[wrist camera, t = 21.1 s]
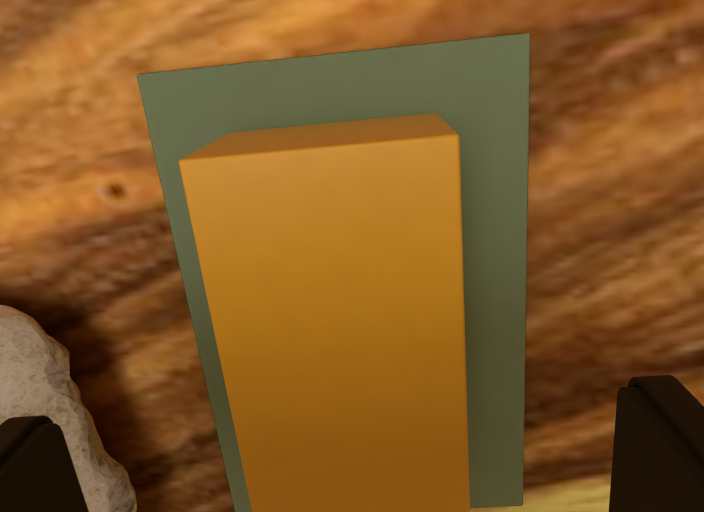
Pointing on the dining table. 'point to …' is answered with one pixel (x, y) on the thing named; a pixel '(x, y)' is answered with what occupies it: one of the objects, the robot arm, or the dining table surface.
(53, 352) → the stone
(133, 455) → the dining table surface
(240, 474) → the mat
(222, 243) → the bar
